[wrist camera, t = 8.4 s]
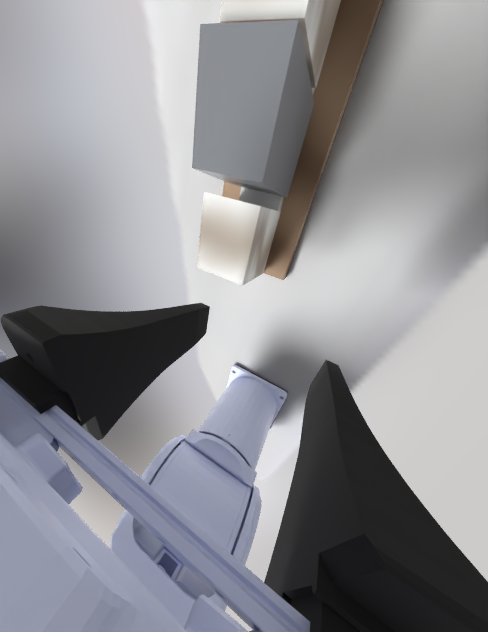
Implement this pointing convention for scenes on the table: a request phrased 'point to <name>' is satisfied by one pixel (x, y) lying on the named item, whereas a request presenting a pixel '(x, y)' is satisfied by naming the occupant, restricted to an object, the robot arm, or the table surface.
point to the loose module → (251, 103)
